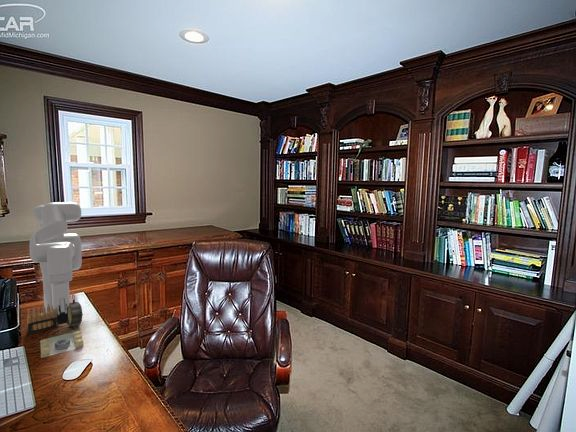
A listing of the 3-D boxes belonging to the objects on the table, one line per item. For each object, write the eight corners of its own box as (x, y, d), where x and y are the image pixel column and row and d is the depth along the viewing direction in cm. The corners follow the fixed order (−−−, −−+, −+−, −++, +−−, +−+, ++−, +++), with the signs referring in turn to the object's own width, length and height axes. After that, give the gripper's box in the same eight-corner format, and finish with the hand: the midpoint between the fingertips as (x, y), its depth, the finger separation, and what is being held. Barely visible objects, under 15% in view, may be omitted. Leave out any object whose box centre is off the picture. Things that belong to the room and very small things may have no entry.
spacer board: (40, 341, 130) (40, 334, 130) (79, 331, 139) (79, 325, 139) (41, 359, 117) (40, 352, 116) (84, 347, 126) (83, 340, 125)
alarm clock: (65, 324, 145) (63, 292, 144) (78, 321, 149) (77, 290, 148) (71, 332, 138) (69, 298, 136) (84, 328, 142) (83, 295, 140)
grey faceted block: (54, 346, 125) (54, 341, 125) (69, 343, 128) (69, 337, 128) (55, 351, 122) (54, 345, 121) (70, 347, 125) (70, 342, 125)
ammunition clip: (27, 334, 135) (26, 309, 134) (27, 333, 136) (25, 307, 135) (57, 327, 143) (56, 303, 141) (56, 325, 144) (55, 302, 143)
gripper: (47, 274, 118) (49, 319, 120) (48, 284, 107) (51, 333, 109) (70, 271, 123) (72, 314, 125) (74, 280, 112) (76, 327, 113)
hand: (62, 322), depth 117 cm, fingers closed
